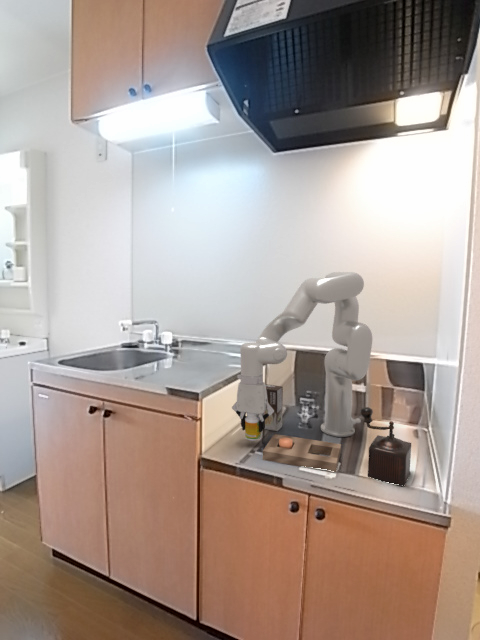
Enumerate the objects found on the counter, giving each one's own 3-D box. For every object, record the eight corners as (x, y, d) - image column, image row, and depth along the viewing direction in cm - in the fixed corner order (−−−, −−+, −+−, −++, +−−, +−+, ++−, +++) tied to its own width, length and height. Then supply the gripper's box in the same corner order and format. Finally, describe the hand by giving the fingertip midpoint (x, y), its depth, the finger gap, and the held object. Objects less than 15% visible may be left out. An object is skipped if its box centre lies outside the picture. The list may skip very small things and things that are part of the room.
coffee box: (283, 425, 150) (283, 386, 149) (277, 431, 145) (278, 390, 143) (261, 421, 155) (262, 383, 153) (255, 427, 149) (255, 387, 147)
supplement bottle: (259, 441, 130) (259, 414, 129) (244, 440, 131) (243, 413, 130) (261, 435, 135) (261, 408, 134) (246, 433, 136) (246, 407, 135)
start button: (287, 445, 130) (288, 436, 130) (294, 451, 126) (295, 441, 126) (276, 448, 128) (276, 438, 128) (283, 453, 124) (283, 444, 124)
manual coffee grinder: (411, 471, 116) (414, 414, 114) (404, 488, 107) (408, 426, 105) (360, 457, 125) (362, 404, 123) (349, 472, 115) (351, 414, 113)
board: (262, 459, 123) (262, 450, 122) (274, 442, 136) (274, 433, 136) (336, 472, 115) (336, 463, 115) (340, 452, 128) (341, 444, 128)
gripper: (224, 380, 130) (226, 431, 132) (273, 384, 124) (274, 437, 126) (232, 374, 137) (233, 422, 139) (279, 378, 131) (279, 428, 133)
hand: (253, 429), depth 133 cm, fingers closed on supplement bottle, 5 cm apart
